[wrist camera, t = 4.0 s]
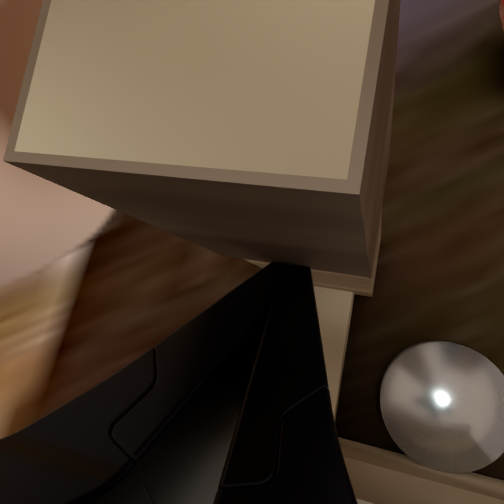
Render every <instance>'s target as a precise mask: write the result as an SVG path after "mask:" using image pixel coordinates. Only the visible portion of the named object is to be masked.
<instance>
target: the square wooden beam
mask: <svg viewBox="0 0 504 504" xmlns="http://www.w3.org/2000/svg"><path fill="white" fill-rule="evenodd" d="M399 12H400V0H43V3H42V7H41V11H40V15H39V19H38V23H37V27H36V31H35V35H34V39H33V43H32V47H31V51H30V55H29V59H28V63H27V67H26V71H25V75H24V79H23V83H22V87H21V91H20V95H19V99H18V103H17V107H16V112H15V115H14V120H13V124H12V128H11V132H10V136H9V140H8V144H7V148H6V152H5V156H4V160H3V161H5V162H7V163H10V164H12V165H14V166H16V167H19V168H22V169H23V170H26V171H28V172H30V173H33V174H35V175H37V176H39V177H42V178H44V179H46V180H49V181H51V182H53V183H56V184H58V185H60V186H63V187H65V188H67V189H70V190H72V191H74V192H77V193H79V194H81V195H84V196H86V197H88V198H91V199H93V200H95V201H98V202H100V203H102V204H104V205H107V206H109V207H111V208H114V209H116V210H118V211H121V212H123V213H125V214H128V215H130V216H132V217H135V218H137V219H139V220H142V221H144V222H146V223H149V224H151V225H153V226H156V227H158V228H160V229H162V230H165V231H167V232H169V233H172V234H174V235H176V236H179V237H181V238H183V239H186V240H188V241H190V242H193V243H195V244H197V245H200V246H202V247H204V248H207V249H209V250H211V251H214V252H216V253H218V254H221V255H223V256H227V257H234V258H240V259H244V260H247V261H249V262H251V263H253V264H255V265H257V266H259V267H261V268H264V267H265V266H267V265H268V264H269V263H271V262H278V263H285V264H289V265H290V266H292V265H298V266H305V267H310V269H311V272H312V279H313V286H314V292H315V299H316V306H317V312H318V319H319V326H320V332H321V339H322V345H323V352H324V359H325V365H326V372H327V379H328V385H329V388H328V389H329V391H330V397H331V404H332V410H333V415H334V420H336V413H337V407H338V400H339V393H340V387H341V380H342V373H343V367H344V360H345V353H346V347H347V340H348V334H349V327H350V320H351V314H352V307H353V300H354V294H357V295H363V296H369V297H372V295H373V288H374V281H375V274H376V268H377V261H378V254H379V247H380V240H381V219H382V202H383V195H384V188H385V182H386V175H387V168H388V161H389V154H390V140H391V125H392V111H393V97H394V83H395V69H396V55H397V41H398V26H399ZM338 439H339V443H340V446H341V450H342V454H343V457H344V461H345V464H346V468H347V471H348V474H349V477H350V481H351V484H352V487H353V490H354V494H355V497H356V498H357V499H360V500H363V501H367V502H370V503H373V504H504V481H503V480H499V479H496V478H492V477H488V476H484V475H480V474H477V473H473V472H467V473H445V472H440V471H437V470H433V469H430V468H428V467H426V466H423V465H421V464H419V463H418V462H416V461H415V460H413V459H412V458H410V457H409V456H408V455H404V454H400V453H396V452H393V451H389V450H385V449H381V448H377V447H374V446H370V445H366V444H362V443H358V442H355V441H351V440H347V439H343V438H339V437H338Z"/></svg>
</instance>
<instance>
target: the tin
mask: <svg viewBox="0 0 504 504" xmlns="http://www.w3.org/2000/svg"><path fill="white" fill-rule="evenodd" d="M499 13H500V19H501V24H502V28H503V31H504V0H499Z"/></svg>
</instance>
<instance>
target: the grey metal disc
mask: <svg viewBox="0 0 504 504" xmlns="http://www.w3.org/2000/svg"><path fill="white" fill-rule="evenodd" d="M380 406H381V413H382V417H383V420H384V423H385V426H386V428H387V430H388V432H389V434H390V436H391V437H392V439H393V440H394V442H395V443H396V444H397V445H398V447H399V448H400V449H401V450H402V451H403V452H404V453H405V454H407V455H408V456H409V457H410V458H412V459H413V460H415V461H416V462H418V463H419V464H421V465H423V466H426V467H428V468H430V469H433V470H437V471H440V472H445V473H467V472H472V471H476V470H479V469H482V468H484V467H486V466H488V465H489V464H491V463H492V462H494V461H495V460H496V459H498V458H499V457H500V456H501V455H502V454H503V452H504V376H503V374H502V373H501V371H500V370H499V369H498V368H497V367H496V366H495V365H494V364H493V363H492V362H491V361H490V360H488V359H487V358H486V357H484V356H483V355H481V354H480V353H478V352H476V351H475V350H473V349H471V348H468V347H465V346H463V345H459V344H455V343H451V342H447V341H425V342H421V343H417V344H414V345H412V346H410V347H408V348H406V349H404V350H403V351H401V352H400V353H399V354H398V355H397V356H396V357H395V358H394V359H393V360H392V361H391V362H390V364H389V365H388V367H387V369H386V371H385V372H384V375H383V378H382V382H381V387H380Z"/></svg>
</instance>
